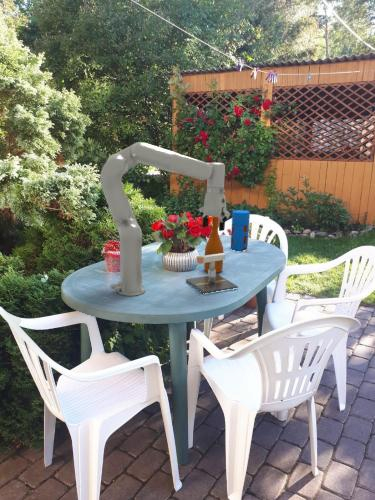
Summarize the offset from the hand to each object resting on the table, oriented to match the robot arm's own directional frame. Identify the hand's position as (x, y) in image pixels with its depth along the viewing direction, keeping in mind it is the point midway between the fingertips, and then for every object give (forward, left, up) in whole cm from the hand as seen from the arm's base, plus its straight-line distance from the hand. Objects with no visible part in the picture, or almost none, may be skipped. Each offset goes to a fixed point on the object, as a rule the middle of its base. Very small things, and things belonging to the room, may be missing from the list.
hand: (213, 228), depth 170 cm
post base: (0, 0, -28) cm, 28 cm away
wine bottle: (+12, +19, -28) cm, 36 cm away
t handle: (0, 0, -19) cm, 19 cm away
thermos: (+49, +50, -28) cm, 75 cm away
